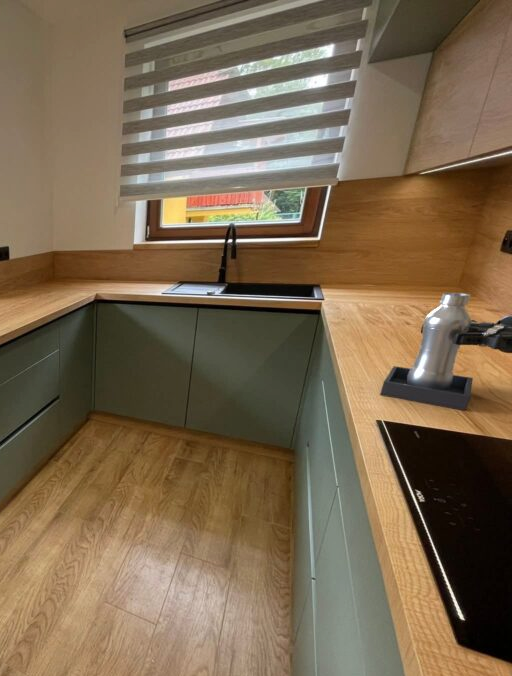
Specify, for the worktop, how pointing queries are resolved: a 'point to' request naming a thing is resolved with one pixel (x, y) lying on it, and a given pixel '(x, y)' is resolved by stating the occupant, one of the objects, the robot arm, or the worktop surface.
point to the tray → (428, 390)
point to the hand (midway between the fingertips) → (438, 333)
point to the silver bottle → (440, 343)
